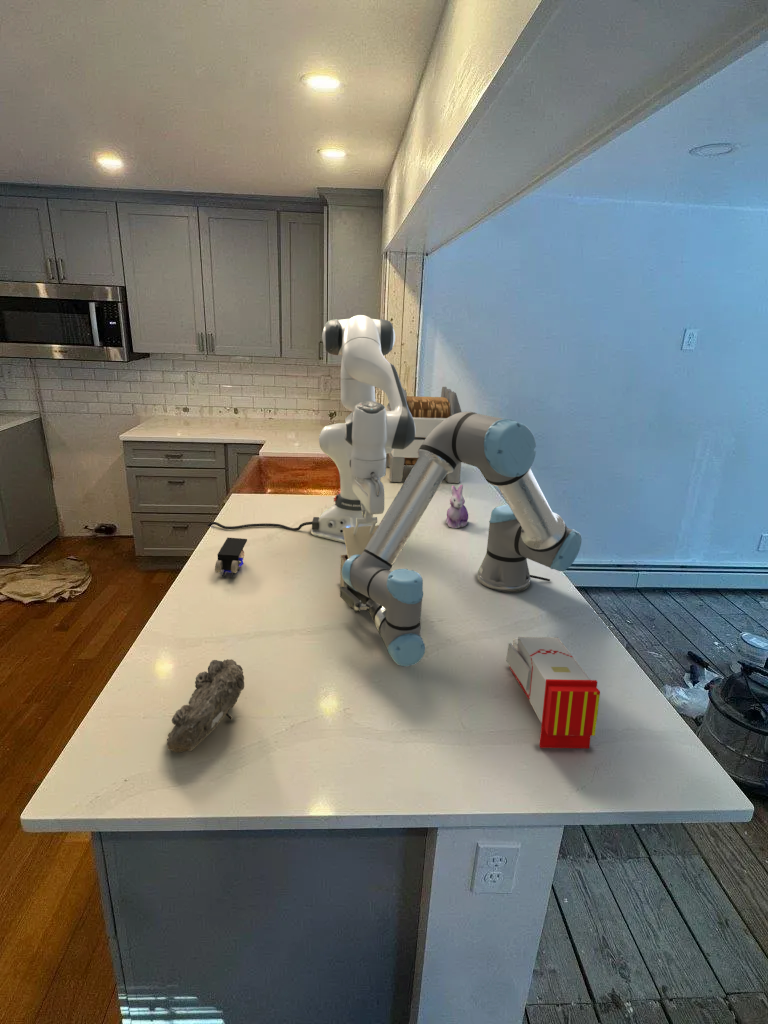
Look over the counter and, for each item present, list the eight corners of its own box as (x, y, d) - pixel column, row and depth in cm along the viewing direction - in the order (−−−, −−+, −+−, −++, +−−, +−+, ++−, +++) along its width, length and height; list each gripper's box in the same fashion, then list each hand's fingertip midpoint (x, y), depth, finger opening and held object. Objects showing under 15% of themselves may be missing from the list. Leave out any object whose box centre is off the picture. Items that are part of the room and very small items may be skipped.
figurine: (453, 530, 205) (457, 490, 200) (438, 521, 213) (441, 482, 208) (475, 527, 209) (479, 488, 204) (459, 517, 217) (462, 480, 212)
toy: (554, 620, 129) (609, 687, 99) (549, 674, 131) (601, 755, 102) (501, 619, 128) (541, 686, 99) (497, 673, 131) (534, 754, 102)
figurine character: (238, 584, 162) (249, 557, 175) (236, 562, 158) (247, 536, 172) (215, 584, 161) (227, 556, 175) (212, 561, 158) (225, 535, 171)
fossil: (192, 660, 117) (244, 628, 112) (224, 691, 120) (276, 661, 115) (142, 746, 98) (202, 712, 93) (182, 779, 101) (242, 748, 96)
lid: (342, 529, 154) (346, 512, 148) (378, 527, 157) (384, 510, 150) (351, 575, 147) (355, 559, 140) (388, 571, 149) (394, 556, 143)
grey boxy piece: (382, 463, 289) (386, 382, 275) (445, 464, 293) (451, 384, 279) (390, 482, 257) (394, 392, 243) (460, 483, 261) (468, 394, 247)
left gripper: (392, 478, 135) (389, 532, 139) (370, 457, 153) (368, 505, 158) (366, 479, 133) (364, 534, 138) (347, 458, 152) (346, 506, 156)
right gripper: (341, 636, 130) (324, 591, 150) (433, 626, 137) (405, 584, 157) (342, 608, 128) (324, 566, 148) (436, 598, 134) (407, 559, 154)
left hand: (366, 518), depth 148 cm, fingers closed
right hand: (366, 575), depth 152 cm, fingers closed on chest, 10 cm apart
